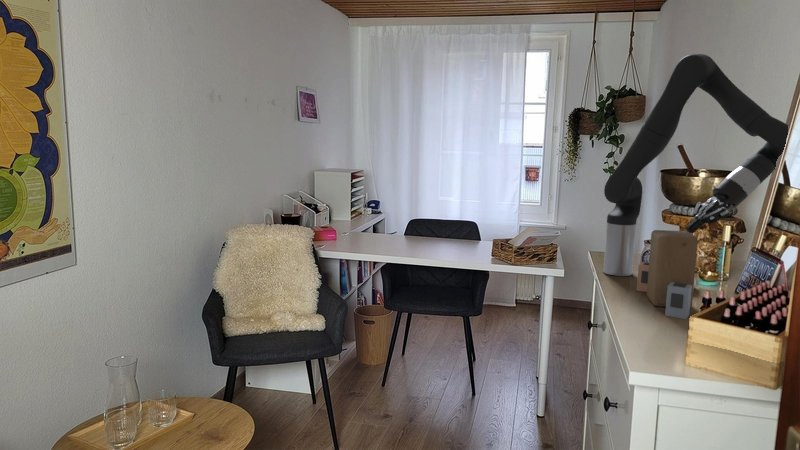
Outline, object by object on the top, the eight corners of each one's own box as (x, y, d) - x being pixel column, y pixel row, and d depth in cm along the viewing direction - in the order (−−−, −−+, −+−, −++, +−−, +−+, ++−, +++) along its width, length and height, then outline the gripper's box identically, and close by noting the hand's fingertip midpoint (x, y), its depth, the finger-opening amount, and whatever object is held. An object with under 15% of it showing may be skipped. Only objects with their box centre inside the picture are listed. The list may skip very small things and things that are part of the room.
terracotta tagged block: (640, 286, 178) (642, 260, 177) (657, 289, 176) (660, 263, 174) (636, 290, 174) (638, 263, 173) (653, 293, 171) (656, 266, 170)
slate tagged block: (668, 310, 155) (671, 280, 153) (689, 314, 152) (692, 283, 150) (664, 315, 150) (667, 285, 149) (685, 319, 148) (688, 288, 146)
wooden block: (692, 309, 156) (699, 237, 152) (653, 307, 158) (659, 235, 154) (682, 299, 165) (688, 230, 162) (645, 297, 167) (650, 229, 164)
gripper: (713, 175, 163) (667, 217, 164) (743, 179, 150) (693, 225, 151) (729, 194, 164) (683, 236, 166) (760, 199, 151) (710, 245, 153)
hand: (688, 230), depth 159 cm, fingers closed
